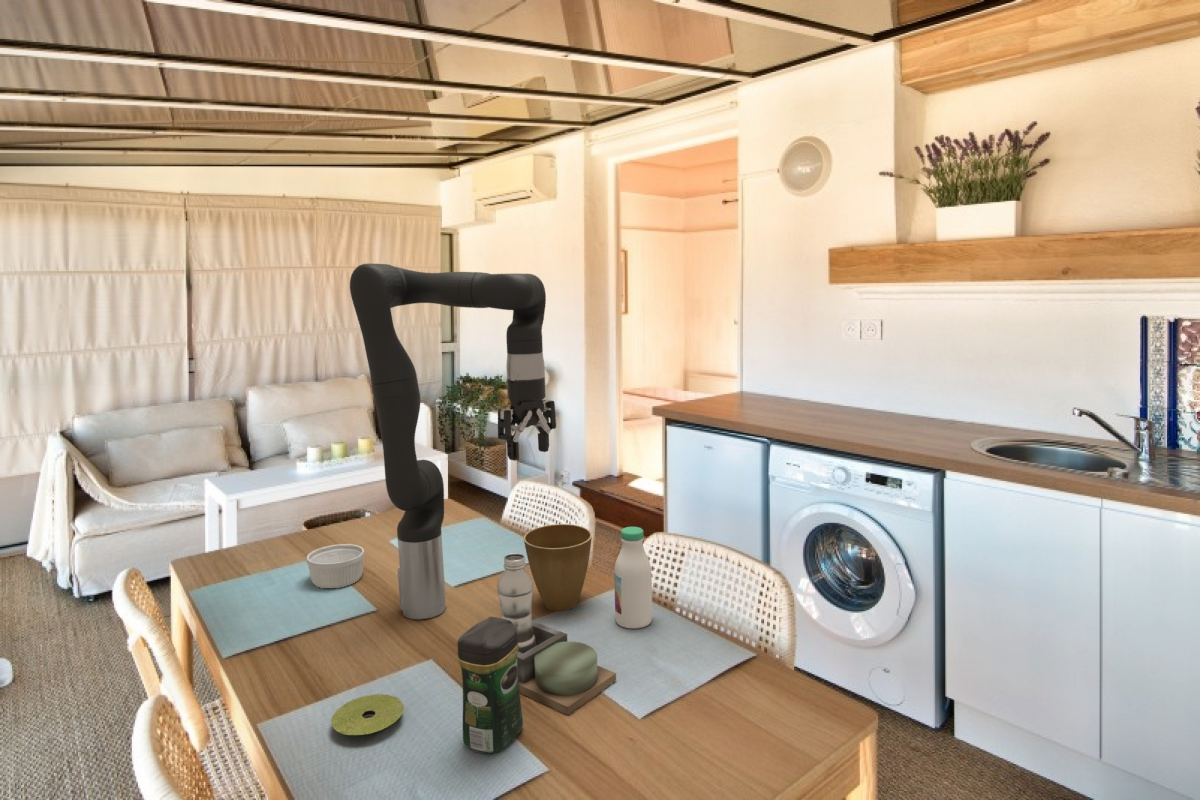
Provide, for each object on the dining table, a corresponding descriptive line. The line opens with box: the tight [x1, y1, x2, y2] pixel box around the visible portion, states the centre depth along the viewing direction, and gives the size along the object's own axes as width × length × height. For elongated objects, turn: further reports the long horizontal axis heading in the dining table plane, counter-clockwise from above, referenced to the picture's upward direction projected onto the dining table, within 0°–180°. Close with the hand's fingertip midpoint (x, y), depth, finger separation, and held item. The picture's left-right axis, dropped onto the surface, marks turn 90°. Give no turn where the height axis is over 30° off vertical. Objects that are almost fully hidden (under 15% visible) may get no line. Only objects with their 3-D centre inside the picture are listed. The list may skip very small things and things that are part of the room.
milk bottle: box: [614, 526, 653, 630], centre depth 149 cm, size 8×8×20 cm
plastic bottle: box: [496, 553, 536, 653], centre depth 131 cm, size 6×7×20 cm
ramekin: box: [306, 543, 365, 589], centre depth 175 cm, size 13×13×7 cm
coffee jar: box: [457, 616, 524, 754], centre depth 111 cm, size 10×8×19 cm
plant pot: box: [523, 523, 593, 612], centre depth 158 cm, size 15×15×16 cm
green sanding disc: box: [330, 693, 405, 736], centre depth 117 cm, size 11×11×2 cm
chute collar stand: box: [517, 620, 617, 716], centre depth 130 cm, size 24×13×6 cm, turn 51°
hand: (528, 455), depth 145 cm, fingers open, 8 cm apart
